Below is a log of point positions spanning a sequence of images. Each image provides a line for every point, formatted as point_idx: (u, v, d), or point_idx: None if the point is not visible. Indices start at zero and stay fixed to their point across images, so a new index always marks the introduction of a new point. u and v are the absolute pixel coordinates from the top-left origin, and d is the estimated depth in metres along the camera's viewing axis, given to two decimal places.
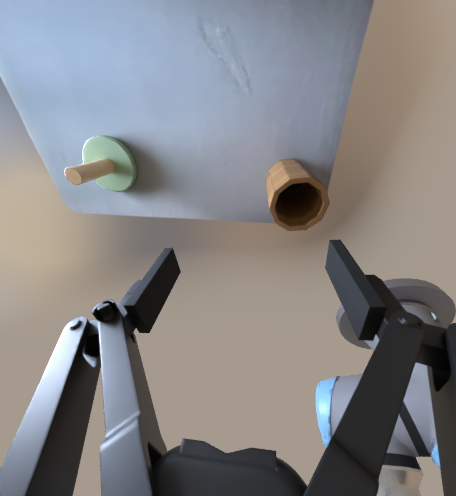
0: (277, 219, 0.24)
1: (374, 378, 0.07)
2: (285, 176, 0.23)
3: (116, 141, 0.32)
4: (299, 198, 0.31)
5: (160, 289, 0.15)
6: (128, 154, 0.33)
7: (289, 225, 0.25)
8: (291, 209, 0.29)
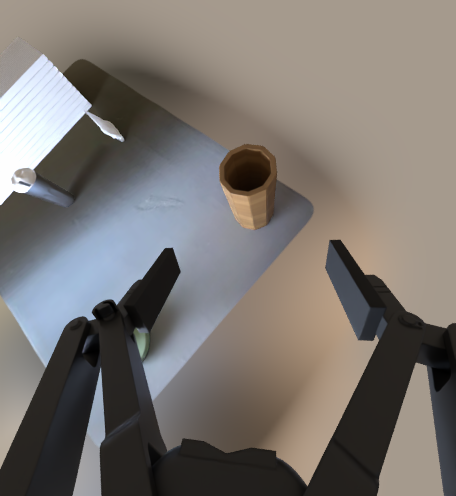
0: (246, 192, 0.22)
1: (375, 378, 0.07)
2: None
3: None
4: None
5: (160, 289, 0.15)
6: None
7: None
8: None
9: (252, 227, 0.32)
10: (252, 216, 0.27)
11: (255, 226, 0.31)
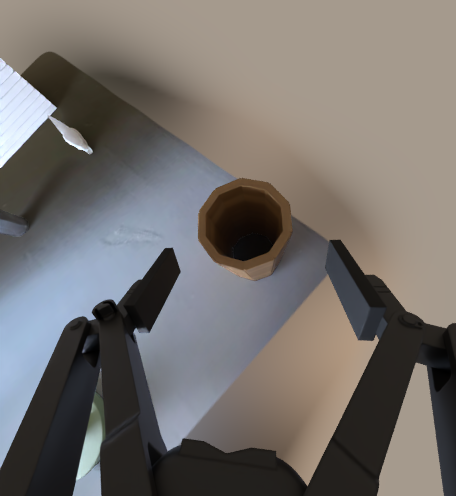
0: (241, 262, 0.13)
1: (375, 378, 0.07)
2: None
3: None
4: None
5: (160, 289, 0.15)
6: None
7: None
8: None
9: (251, 279, 0.23)
10: (251, 276, 0.18)
11: (255, 279, 0.23)
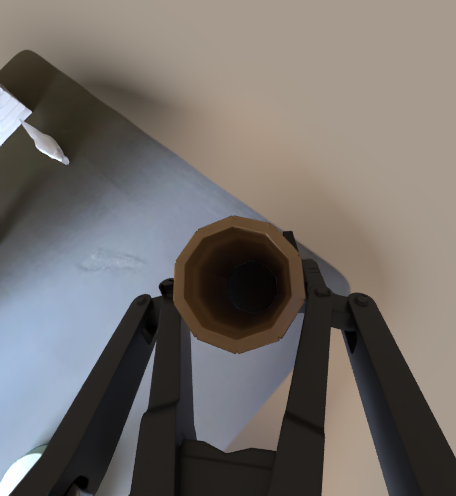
0: (232, 341, 0.09)
1: (307, 347, 0.09)
2: None
3: (36, 450, 0.21)
4: (278, 283, 0.17)
5: None
6: None
7: (269, 327, 0.09)
8: (276, 304, 0.14)
9: None
10: None
11: None
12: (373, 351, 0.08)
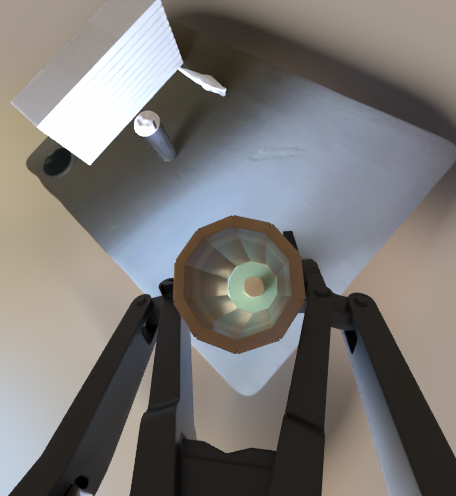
0: (232, 341, 0.09)
1: (307, 347, 0.09)
2: None
3: None
4: (278, 283, 0.17)
5: None
6: None
7: (269, 327, 0.09)
8: (276, 304, 0.14)
9: None
10: None
11: None
12: (373, 351, 0.08)
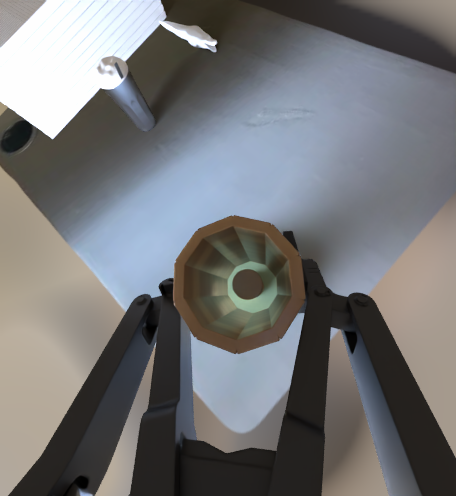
0: (232, 341, 0.09)
1: (307, 347, 0.09)
2: None
3: None
4: (278, 283, 0.17)
5: None
6: None
7: (269, 327, 0.09)
8: (276, 304, 0.14)
9: None
10: None
11: None
12: (373, 351, 0.08)
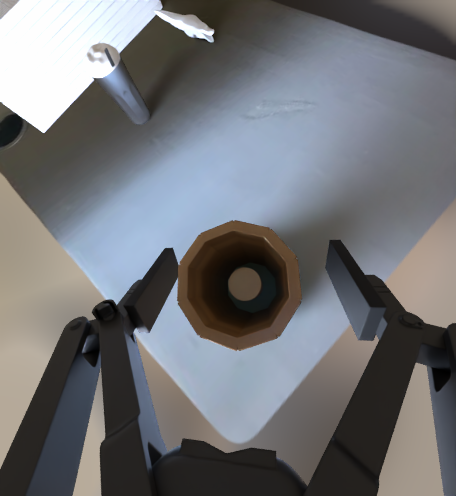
0: (233, 339, 0.10)
1: (374, 378, 0.07)
2: None
3: None
4: (277, 284, 0.18)
5: (160, 289, 0.15)
6: None
7: (268, 326, 0.10)
8: (274, 304, 0.15)
9: None
10: None
11: None
12: None
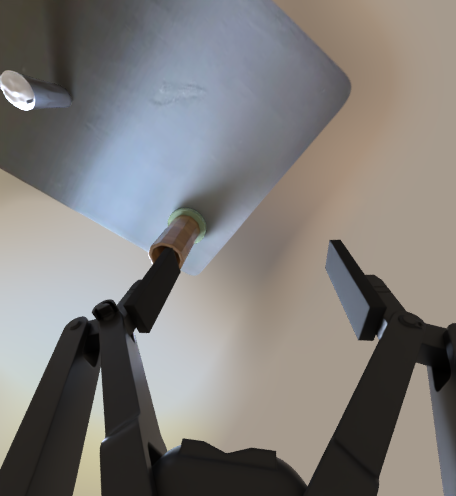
0: None
1: (374, 378, 0.07)
2: None
3: (177, 209, 0.44)
4: None
5: (160, 289, 0.15)
6: (188, 209, 0.44)
7: None
8: None
9: None
10: None
11: None
12: None
